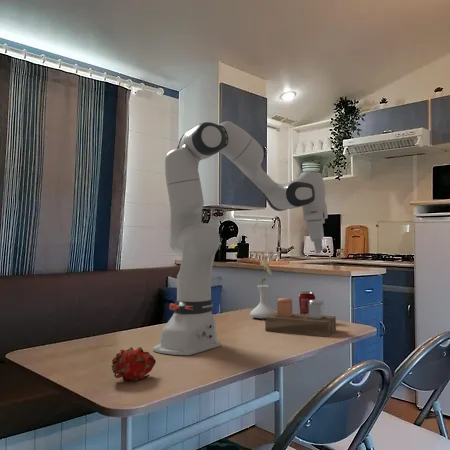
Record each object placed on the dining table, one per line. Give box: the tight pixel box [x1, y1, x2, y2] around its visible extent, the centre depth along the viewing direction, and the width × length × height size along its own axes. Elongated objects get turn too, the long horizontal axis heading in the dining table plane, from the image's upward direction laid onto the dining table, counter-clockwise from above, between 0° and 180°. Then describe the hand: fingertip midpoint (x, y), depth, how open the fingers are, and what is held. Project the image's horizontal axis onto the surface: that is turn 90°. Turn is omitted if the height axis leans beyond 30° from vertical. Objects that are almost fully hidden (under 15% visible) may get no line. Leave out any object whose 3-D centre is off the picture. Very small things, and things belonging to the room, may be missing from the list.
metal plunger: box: [309, 299, 325, 320], centre depth 161 cm, size 5×5×7 cm
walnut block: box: [264, 312, 337, 337], centre depth 164 cm, size 12×23×5 cm, turn 63°
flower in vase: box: [249, 259, 277, 320], centre depth 193 cm, size 13×11×25 cm
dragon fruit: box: [111, 346, 157, 382], centre depth 108 cm, size 8×8×12 cm
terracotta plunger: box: [276, 297, 294, 318], centre depth 167 cm, size 5×5×7 cm
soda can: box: [297, 290, 316, 315], centre depth 181 cm, size 7×7×12 cm
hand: (319, 251), depth 166 cm, fingers open, 8 cm apart
